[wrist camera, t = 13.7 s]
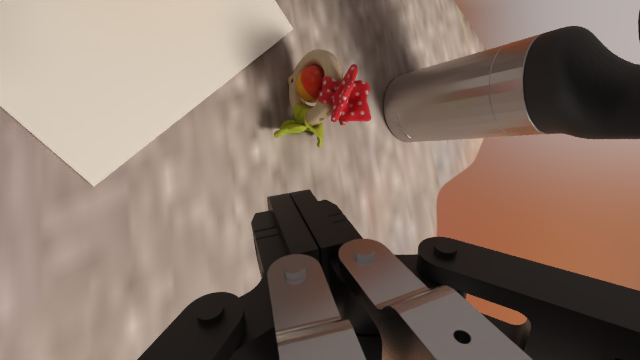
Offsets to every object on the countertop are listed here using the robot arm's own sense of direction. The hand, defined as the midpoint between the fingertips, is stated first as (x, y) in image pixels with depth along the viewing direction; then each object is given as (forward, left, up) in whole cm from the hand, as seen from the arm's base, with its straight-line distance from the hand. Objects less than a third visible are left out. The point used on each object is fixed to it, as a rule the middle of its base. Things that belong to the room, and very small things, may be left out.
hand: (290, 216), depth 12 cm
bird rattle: (-14, +2, -22) cm, 26 cm away
